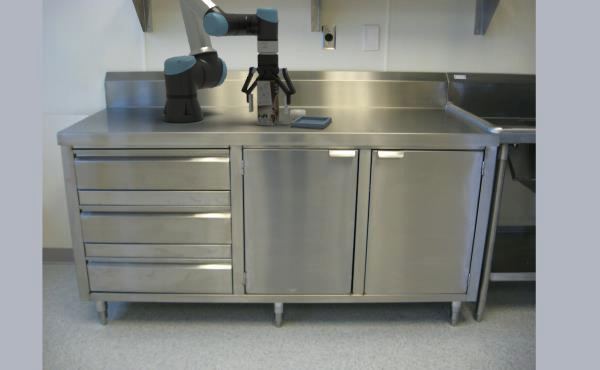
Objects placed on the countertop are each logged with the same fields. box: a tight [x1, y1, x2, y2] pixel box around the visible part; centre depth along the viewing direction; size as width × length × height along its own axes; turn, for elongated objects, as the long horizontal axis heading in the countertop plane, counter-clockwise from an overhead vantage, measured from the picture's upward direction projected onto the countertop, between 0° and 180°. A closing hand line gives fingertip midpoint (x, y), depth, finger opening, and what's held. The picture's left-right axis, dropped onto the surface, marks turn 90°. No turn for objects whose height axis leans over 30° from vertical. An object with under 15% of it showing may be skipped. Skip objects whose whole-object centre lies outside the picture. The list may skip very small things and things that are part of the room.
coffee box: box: [256, 79, 280, 127], centre depth 183 cm, size 9×6×16 cm
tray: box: [290, 115, 333, 130], centre depth 184 cm, size 12×14×2 cm
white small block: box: [289, 108, 307, 121], centre depth 194 cm, size 6×6×4 cm
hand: (268, 112), depth 185 cm, fingers open, 13 cm apart
